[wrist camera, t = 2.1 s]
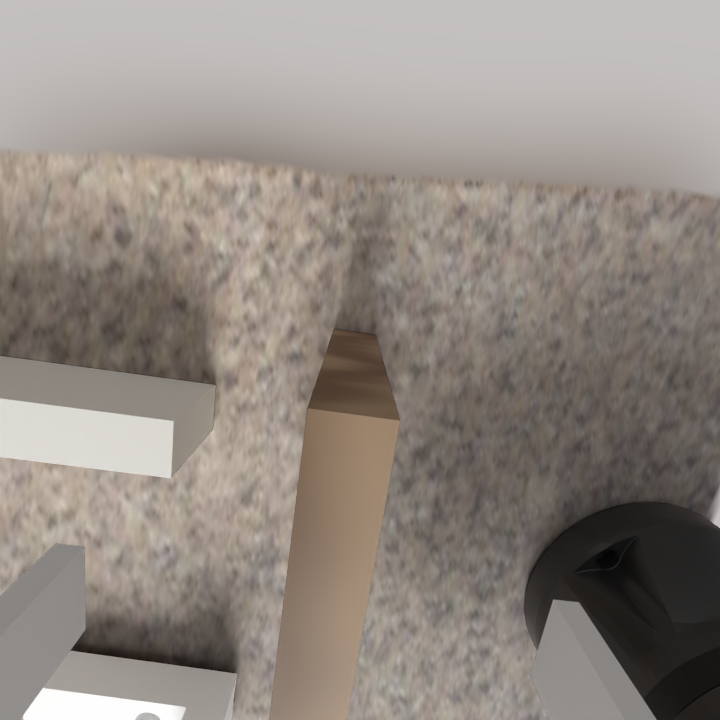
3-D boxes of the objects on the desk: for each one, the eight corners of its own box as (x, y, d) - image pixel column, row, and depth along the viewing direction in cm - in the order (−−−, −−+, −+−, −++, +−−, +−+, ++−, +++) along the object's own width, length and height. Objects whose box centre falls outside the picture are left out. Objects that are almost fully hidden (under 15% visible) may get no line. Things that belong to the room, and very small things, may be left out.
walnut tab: (375, 334, 25) (400, 420, 11) (347, 510, 27) (340, 756, 14) (334, 328, 24) (307, 408, 11) (310, 506, 27) (265, 749, 13)
